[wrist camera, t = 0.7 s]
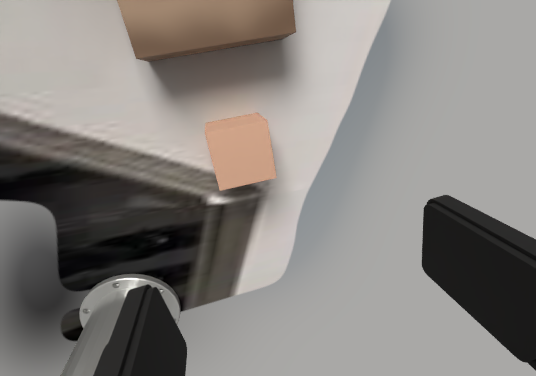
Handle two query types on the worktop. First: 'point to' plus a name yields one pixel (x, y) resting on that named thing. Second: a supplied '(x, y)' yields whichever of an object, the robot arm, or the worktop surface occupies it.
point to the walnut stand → (203, 25)
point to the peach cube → (240, 150)
